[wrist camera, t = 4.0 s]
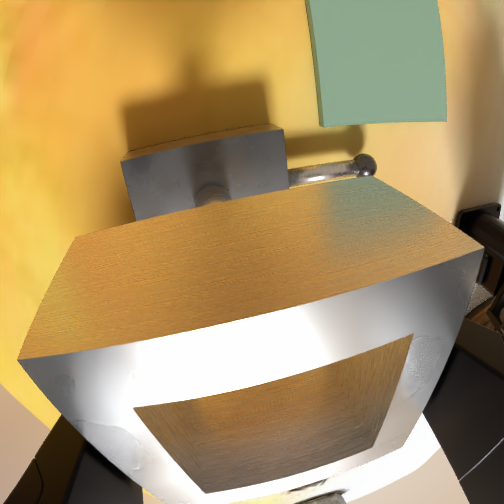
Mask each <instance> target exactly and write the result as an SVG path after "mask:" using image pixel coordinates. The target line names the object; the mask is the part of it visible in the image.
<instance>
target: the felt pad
mask: <svg viewBox="0 0 504 504" xmlns="http://www.w3.org/2000/svg"><path fill="white" fill-rule="evenodd" d="M305 3H306V10H307V16H308V23H309V30H310V38H311V45H312V53H313V61H314V70H315V79H316V89H317V99H318V110H319V122H320V126H321V127H333V126H344V125H357V124H372V123H392V122H447V104H446V75H445V60H444V48H443V38H442V30H441V22H440V15H439V8H438V2H437V0H305Z"/></svg>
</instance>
